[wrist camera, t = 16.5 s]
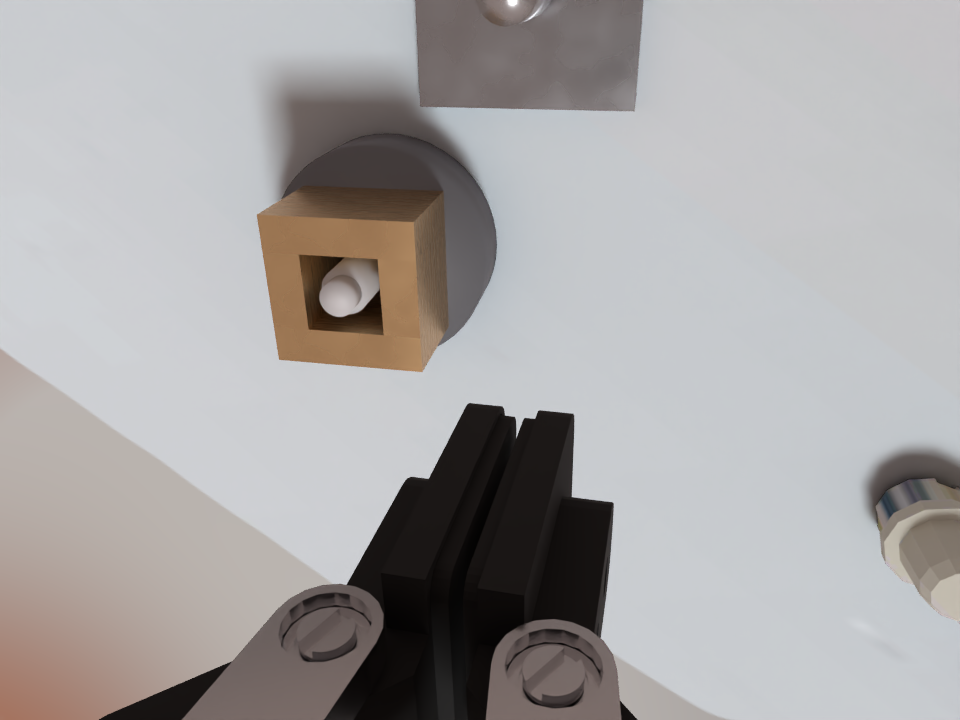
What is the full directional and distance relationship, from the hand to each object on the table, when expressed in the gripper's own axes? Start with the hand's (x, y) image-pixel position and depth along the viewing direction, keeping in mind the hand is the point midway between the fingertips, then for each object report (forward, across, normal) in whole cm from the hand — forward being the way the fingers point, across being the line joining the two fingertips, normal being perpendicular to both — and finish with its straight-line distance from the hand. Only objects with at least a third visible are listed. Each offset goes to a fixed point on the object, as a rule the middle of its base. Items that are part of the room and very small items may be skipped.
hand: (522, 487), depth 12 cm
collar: (+24, +12, +5) cm, 27 cm away
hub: (+27, +12, +5) cm, 30 cm away
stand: (+27, +5, -7) cm, 28 cm away
